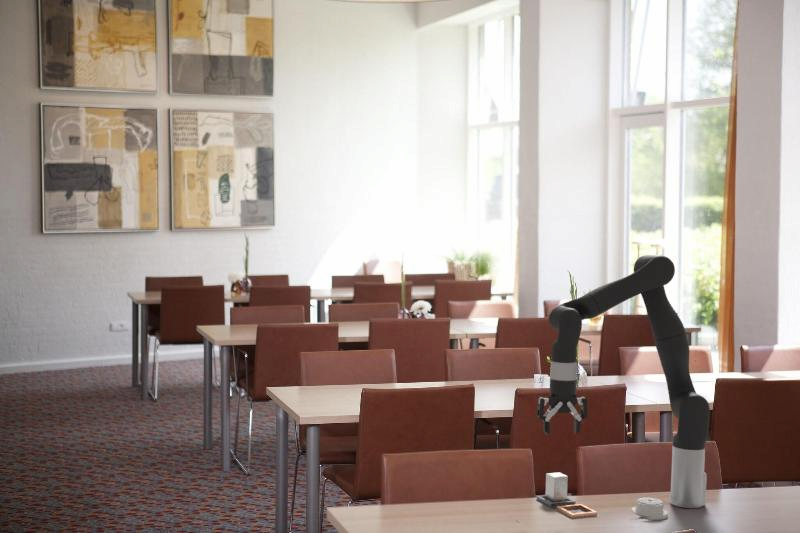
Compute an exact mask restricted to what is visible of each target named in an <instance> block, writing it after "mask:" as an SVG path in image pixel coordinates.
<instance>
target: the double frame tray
mask: <svg viewBox="0 0 800 533" xmlns="http://www.w3.org/2000/svg"><path fill="white" fill-rule="evenodd" d="M535 501H537V502H539V503H541V504H542V505H544V506H546V507H548V508H550V509H552V510H554V511H555V512H558V513H560V514H561V515H563V516H566V517H567V518H570V519H571V520H574V521H575V520H580V519H581V520H582V519H590V518H591V519H592V518H598V517H599V518H601V515H598V511H596V510H594V509H592V508H590V507H588V506H587V505H584V504H582V503H579V504H578V503H576V500H574V499H572V498H570V497H568V496H567V501H563V502H554V503H552V502H550V501H548V500H546V499H545V494H544V495H536V499H535Z"/></svg>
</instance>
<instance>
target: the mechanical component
mask: <svg viewBox="0 0 800 533" xmlns="http://www.w3.org/2000/svg"><path fill="white" fill-rule="evenodd" d="M635 501H636V502H635V503H636V505H635V506H634V507H632V508H631V511H632V513H635V514H637V515H639V516H640V517H638V518H639V519H642V520H651V521H661V520H665V519H667V518H668V514H669V512H668V510H666V509H664V501H663V500H660V499H659V498H655V497H646V496H645V497H640V498H636V500H635Z"/></svg>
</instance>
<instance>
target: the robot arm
mask: <svg viewBox="0 0 800 533" xmlns="http://www.w3.org/2000/svg"><path fill="white" fill-rule="evenodd" d="M674 264H675V263H673V261H672V260H671V259H670V258H669V257H668V256H665V255H662V254H644V255H641V256H640V257H638V258H637V260H635V262H634V265H633V273H630V274H629V275H627V276H625V277H622V278H620V279H617V280H614V281H611V282H609V283H608V282H607V283H606V284H604V285H601V286H599V287H596V288H594V289H593V290H590V291H589V292H587V293H586V294H584V295H582V296H580V297H578V298H575V299H572V300H569V301H567V302H564V303H561V304H559V305H557V306H555V307H554V308H553V309H552V310H551V311H550V313H549V315H548V322H549V323H548V324H549V325H550V327H551V328H553V329H554V330H556V331H558V334H557V338H556V340H554V341H553V342H552V344H551V358H550V359H551V361H550V369H549V370H550V371H549V395H548V397H542V396H539V397H537V398H538V399H537V409H536V417H537V418H538V419H539V420H542V422H543V424H542V429H543V433H545V434H546V435H547V436H548V435H550V431H551V430H550V427H551V426H550V425H551V421H550V420H552V417H553V416H555V414H556V413H557V414H562V413H564V414H571V415H572V416H573V418H574V420H573V434H575V435H578V434H579V433H580V432H581V426H582V424H581V423H582V420H585V419H588V417H589V416H588V415H589V414H588V399H587V398H586V397H585V396H580V397H577V382H578V381H577V380H578V379H577V378H578V367H577V356H578V354H577V353H578V352H577V349H578V348H577V347H578V344H579V342H580V336H581V333H582V328H583V321H584V320H589V319H594V318H597V317H598V316H601V315H602V314H603V313H606V312H607V311H610V310H612V308H615V307H616V306H618V305H620V304H622V303H624V302H626V301H628V300H630V299H632V298H634V297H636V296H638V295H641V298H642V300H643V303H644V306H645V311H646V314H647V317H648V321H649V324H650V329H651V332H652V336H653V340H654V345H655V348H656V350H657V354H658V358H659V361H660V365H661V368H662V371H663V374H664V376H665V377H664V378H665V381H666V386H667V392H668V399H669V403H670V409H671V413H673V416H674V417H675V418H676V419H677V420H678V423H677V424H678V425H677V431H676V434H674V435H673V437H672V450H671V452H672V453H671V476H670V477H671V478H670V497H669V500H670V501H669V502H670V504H671V505H673V506H674V507H675V506H676V507H679V508H685V509H698V508H702V507H703V506H706V497H707V495H706V494H707V479H708V478H707V477H708V475H707V473H706V472H705V463H706V462H705V459H706V458H705V457H706V443H707V440H708V437H709V430H710V429H709V428H710V419H711V416H710V415H711V408H710V404H709V402H708V400H707V399H706V398H705V397H704V396H702V395H700V394H698V393H697V392H696V389H695V386H694V385H693V380H692V378H691V373H690V345H689V340H688V336H687V332H686V329H685V326H684V323H683V322H682V320H681V318H680V316H679V315H678V313H677V312H676V310H675V309H674V308H673V305H671V303H670V301H669V299H668V297H667V294H666V290H665V286H666V285H667V284H669V283H670V282H671V281H672V280H673V278H674V276H675V272H676V268H675V265H674ZM547 403H548V405H549V407H548V408H547V410H546V412H545V406H546V405H547ZM577 404H578V405H579V406H580V414H579V412H578V411H577V409H576V408H575V406H576V405H577ZM544 412H545V413H544Z"/></svg>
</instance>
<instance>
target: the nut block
mask: <svg viewBox="0 0 800 533" xmlns="http://www.w3.org/2000/svg"><path fill="white" fill-rule="evenodd" d="M568 478H569V477H568V475H566V474H565V473H564V474H563V473H562V472H558V471H557V472H551V473H550V472H548V473H545V492H544V493H545V494H544V495H545V499H546V500H548V501H550V502H552V503H554V502H563V501H567V497H568V484H569V483H568V481H569V480H568Z"/></svg>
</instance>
